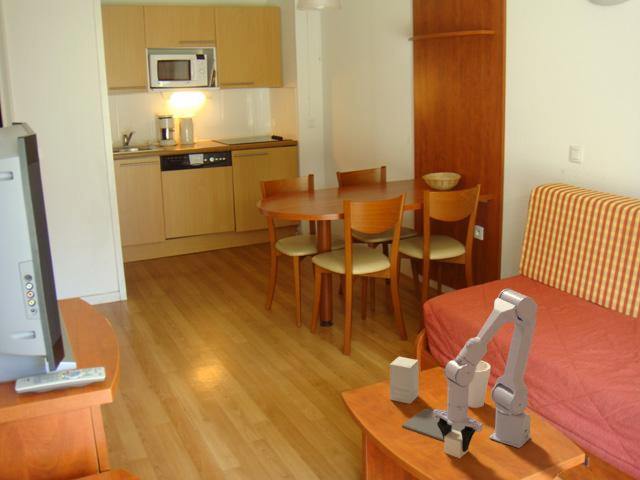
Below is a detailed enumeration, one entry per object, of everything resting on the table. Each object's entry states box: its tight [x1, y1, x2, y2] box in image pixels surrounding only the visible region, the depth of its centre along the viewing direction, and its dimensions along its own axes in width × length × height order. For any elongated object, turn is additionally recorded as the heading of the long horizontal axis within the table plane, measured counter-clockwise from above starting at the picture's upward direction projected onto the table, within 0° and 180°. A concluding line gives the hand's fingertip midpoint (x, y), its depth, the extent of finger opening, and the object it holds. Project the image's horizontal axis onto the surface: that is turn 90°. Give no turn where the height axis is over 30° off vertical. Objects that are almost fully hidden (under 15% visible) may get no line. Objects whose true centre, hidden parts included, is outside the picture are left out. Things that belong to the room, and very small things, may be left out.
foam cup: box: [468, 360, 491, 409], centre depth 234 cm, size 10×9×13 cm
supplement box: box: [389, 356, 420, 405], centre depth 239 cm, size 7×7×13 cm
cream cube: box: [443, 430, 469, 459], centre depth 206 cm, size 5×5×5 cm
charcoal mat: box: [401, 407, 465, 442], centre depth 221 cm, size 18×14×1 cm
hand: (456, 447), depth 207 cm, fingers closed on cream cube, 5 cm apart
